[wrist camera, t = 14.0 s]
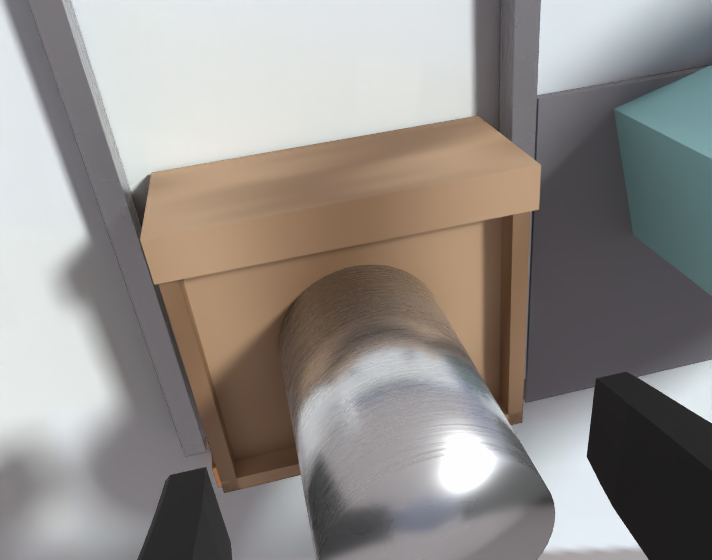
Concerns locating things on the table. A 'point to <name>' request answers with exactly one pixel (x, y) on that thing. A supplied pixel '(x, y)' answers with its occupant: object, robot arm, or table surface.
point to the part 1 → (402, 429)
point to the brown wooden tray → (336, 263)
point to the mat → (600, 257)
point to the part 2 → (671, 172)
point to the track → (118, 205)
